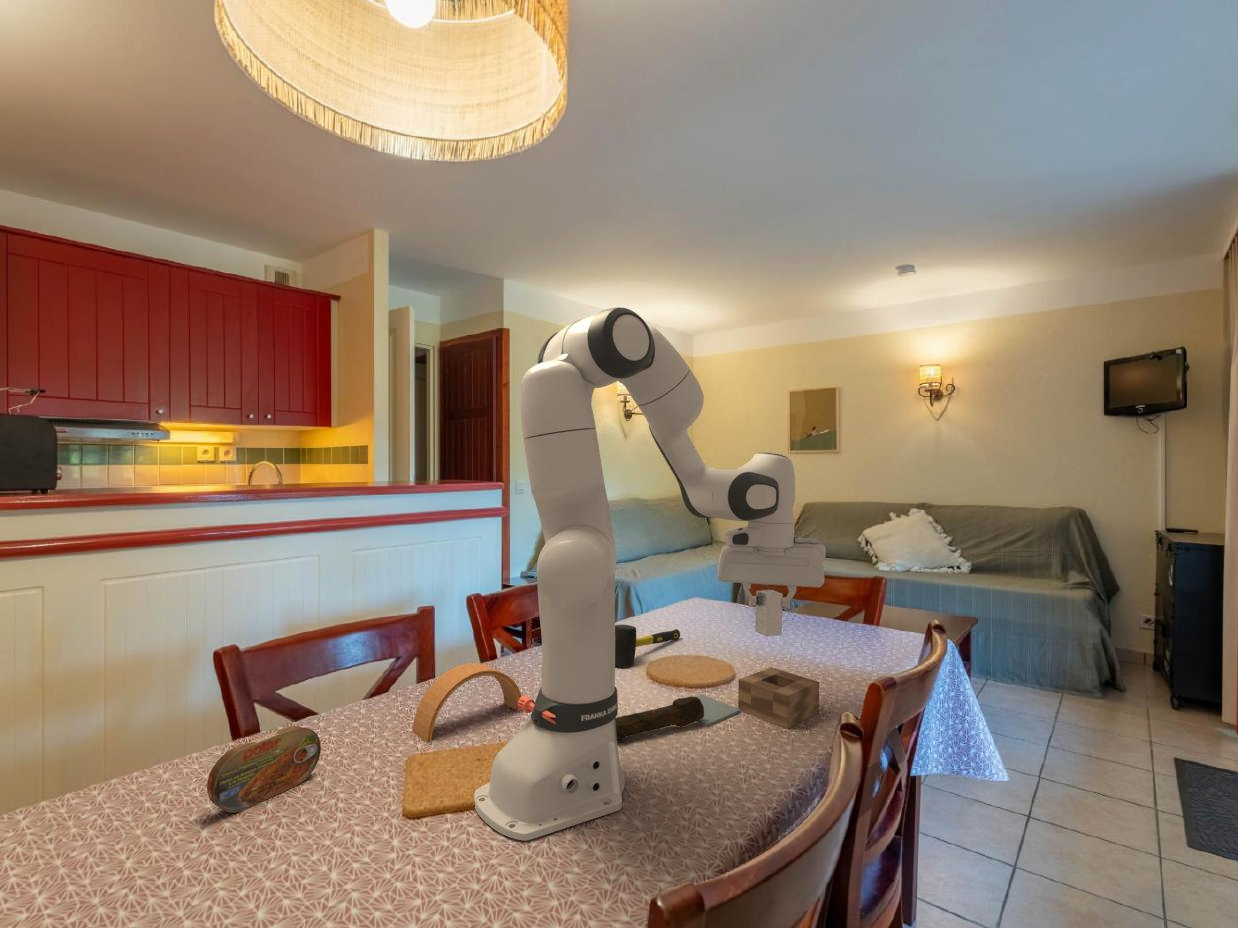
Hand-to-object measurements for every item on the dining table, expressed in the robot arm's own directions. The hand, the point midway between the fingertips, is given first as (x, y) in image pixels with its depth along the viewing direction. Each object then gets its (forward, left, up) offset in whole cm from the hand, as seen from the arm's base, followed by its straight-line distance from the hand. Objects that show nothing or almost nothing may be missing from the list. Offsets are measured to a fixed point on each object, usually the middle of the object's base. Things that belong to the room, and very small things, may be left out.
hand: (768, 606), depth 117 cm
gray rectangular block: (0, 0, -5) cm, 5 cm away
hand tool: (-22, +8, -20) cm, 31 cm away
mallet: (+8, +41, -21) cm, 47 cm away
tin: (-80, +30, -21) cm, 88 cm away
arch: (-46, +34, -21) cm, 61 cm away
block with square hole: (+2, -1, -21) cm, 21 cm away
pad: (-9, +8, -21) cm, 24 cm away
